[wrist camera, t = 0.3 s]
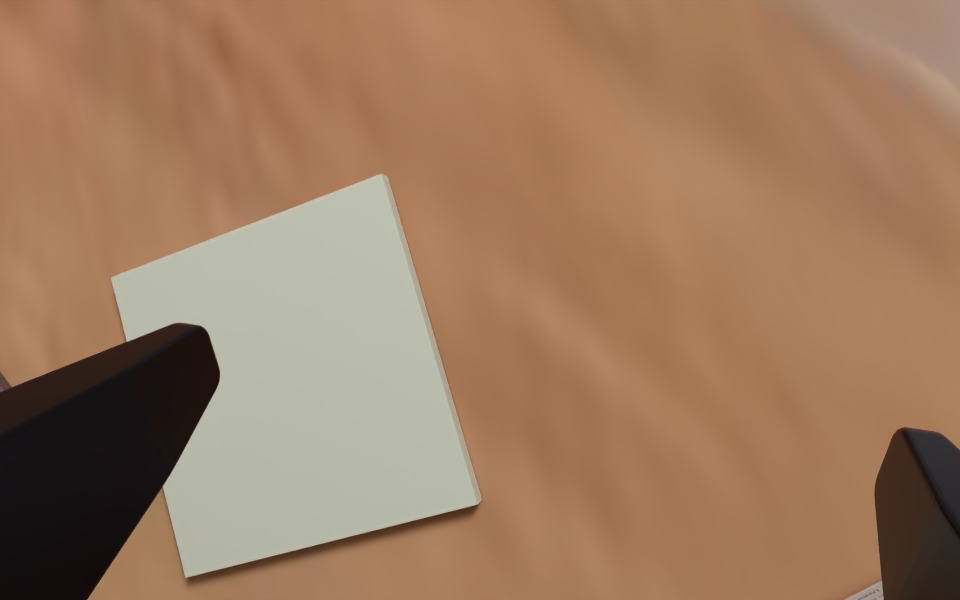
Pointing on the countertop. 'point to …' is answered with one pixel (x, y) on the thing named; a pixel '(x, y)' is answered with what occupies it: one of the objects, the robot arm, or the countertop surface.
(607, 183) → the countertop surface
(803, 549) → the countertop surface
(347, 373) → the mat
